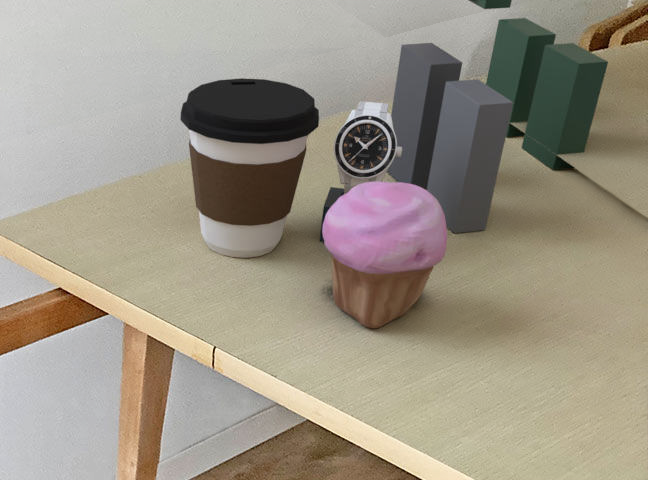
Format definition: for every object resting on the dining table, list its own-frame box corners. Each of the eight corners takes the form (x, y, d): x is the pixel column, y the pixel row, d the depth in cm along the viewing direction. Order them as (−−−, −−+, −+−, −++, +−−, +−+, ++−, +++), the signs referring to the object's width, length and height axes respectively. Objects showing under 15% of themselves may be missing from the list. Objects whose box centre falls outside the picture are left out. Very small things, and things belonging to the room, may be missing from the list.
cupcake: (292, 301, 83) (305, 175, 77) (380, 276, 87) (400, 154, 80) (364, 353, 77) (385, 221, 71) (456, 324, 81) (484, 196, 74)
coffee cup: (169, 216, 95) (173, 77, 88) (291, 213, 96) (305, 74, 88) (184, 273, 87) (189, 124, 79) (318, 269, 87) (335, 121, 80)
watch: (316, 251, 90) (331, 119, 83) (329, 213, 96) (344, 87, 89) (383, 259, 89) (405, 126, 82) (392, 220, 95) (413, 93, 88)
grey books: (485, 230, 94) (514, 95, 86) (453, 233, 93) (481, 98, 86) (411, 166, 105) (432, 42, 98) (382, 168, 104) (401, 44, 97)
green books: (580, 167, 105) (608, 61, 99) (552, 170, 104) (579, 63, 98) (504, 115, 116) (525, 17, 110) (478, 118, 116) (498, 19, 110)
